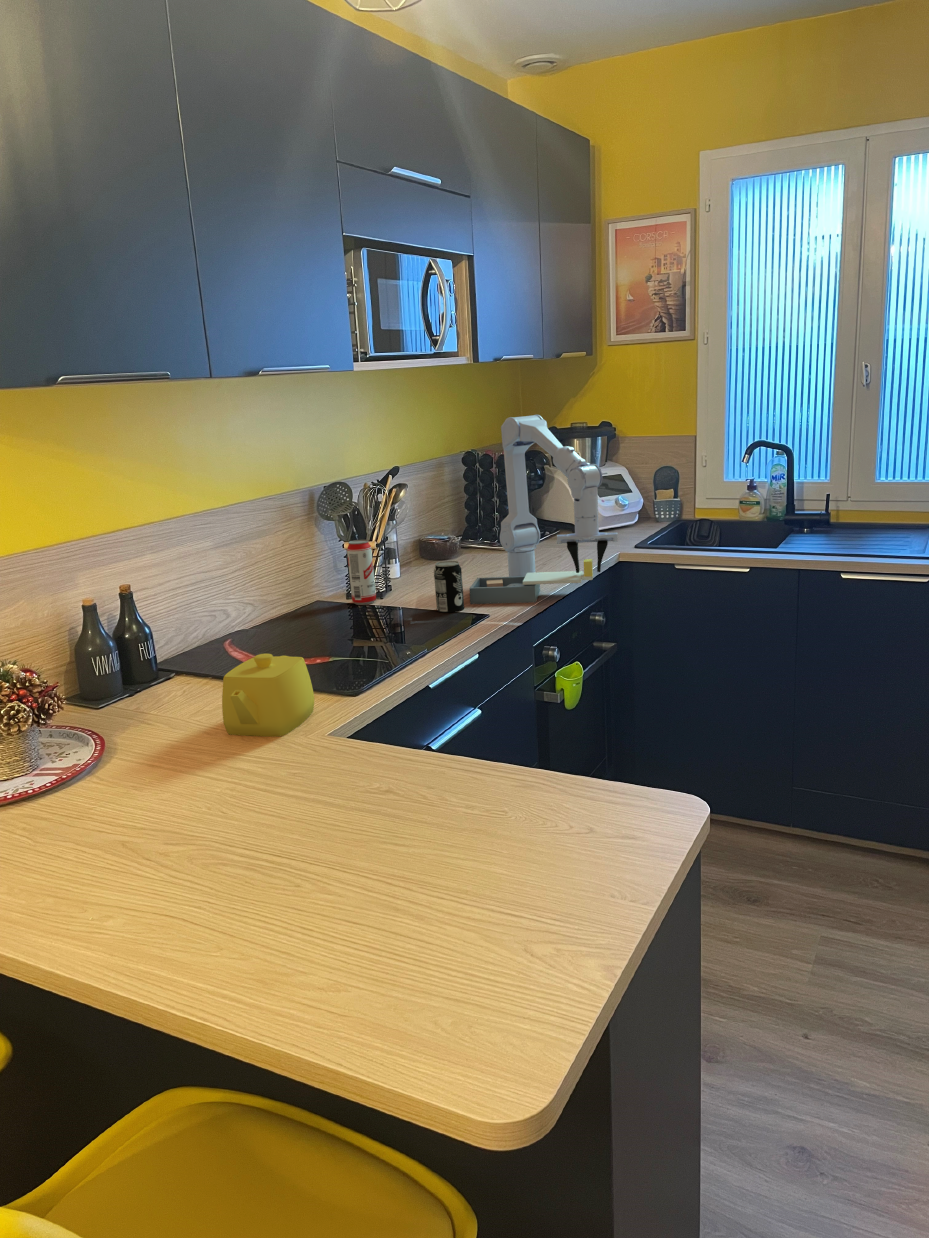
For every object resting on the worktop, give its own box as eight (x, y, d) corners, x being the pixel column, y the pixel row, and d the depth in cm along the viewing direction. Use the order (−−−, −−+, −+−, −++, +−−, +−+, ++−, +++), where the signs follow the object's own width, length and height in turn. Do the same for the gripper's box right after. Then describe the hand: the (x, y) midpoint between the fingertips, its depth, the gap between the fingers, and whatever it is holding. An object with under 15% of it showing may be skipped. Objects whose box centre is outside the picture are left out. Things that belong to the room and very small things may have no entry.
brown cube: (512, 597, 225) (511, 583, 224) (527, 597, 224) (526, 583, 223) (506, 600, 222) (505, 587, 221) (521, 601, 220) (520, 587, 219)
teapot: (275, 749, 141) (265, 677, 138) (204, 746, 144) (194, 675, 141) (327, 704, 159) (319, 640, 156) (263, 702, 163) (255, 639, 160)
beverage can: (465, 608, 220) (462, 559, 217) (463, 614, 214) (459, 565, 211) (439, 609, 221) (435, 561, 218) (435, 616, 215) (431, 566, 212)
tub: (478, 594, 233) (477, 577, 232) (540, 593, 230) (539, 575, 229) (470, 606, 222) (469, 588, 220) (535, 604, 219) (534, 586, 217)
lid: (527, 575, 228) (526, 558, 227) (593, 573, 225) (592, 556, 224) (522, 584, 219) (521, 566, 218) (592, 582, 216) (591, 564, 215)
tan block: (487, 594, 231) (486, 580, 230) (503, 592, 230) (502, 579, 230) (487, 597, 227) (486, 583, 226) (503, 596, 227) (502, 582, 226)
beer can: (348, 605, 232) (341, 543, 228) (359, 599, 238) (353, 539, 234) (369, 605, 230) (363, 543, 226) (380, 600, 235) (375, 539, 231)
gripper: (554, 520, 214) (557, 576, 218) (616, 517, 212) (618, 574, 215) (557, 515, 221) (559, 570, 225) (617, 512, 219) (618, 568, 222)
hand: (588, 571), depth 220 cm, fingers open, 4 cm apart
